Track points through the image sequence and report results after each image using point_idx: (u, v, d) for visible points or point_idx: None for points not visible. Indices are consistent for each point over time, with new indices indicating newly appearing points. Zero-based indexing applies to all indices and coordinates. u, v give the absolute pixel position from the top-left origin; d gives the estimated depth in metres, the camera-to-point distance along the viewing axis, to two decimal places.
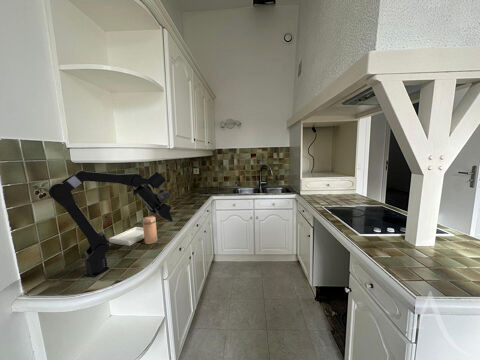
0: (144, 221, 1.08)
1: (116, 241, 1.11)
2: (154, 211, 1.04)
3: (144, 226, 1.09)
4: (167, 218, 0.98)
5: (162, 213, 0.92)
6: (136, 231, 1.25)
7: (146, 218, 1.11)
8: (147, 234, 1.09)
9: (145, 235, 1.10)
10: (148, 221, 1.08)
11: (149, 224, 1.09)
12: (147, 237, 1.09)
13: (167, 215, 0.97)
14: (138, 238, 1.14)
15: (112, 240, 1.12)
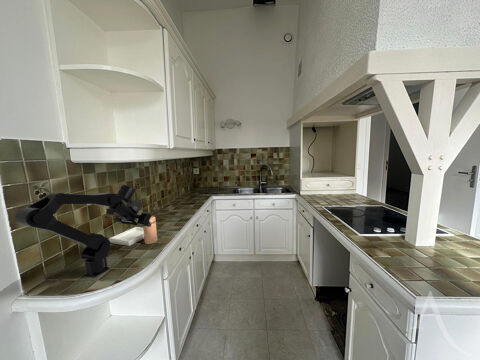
0: None
1: (116, 241, 1.11)
2: (127, 222, 1.04)
3: (144, 226, 1.09)
4: (147, 225, 1.03)
5: (146, 222, 0.97)
6: (136, 231, 1.25)
7: None
8: (147, 234, 1.09)
9: (145, 235, 1.10)
10: None
11: None
12: (147, 237, 1.09)
13: None
14: (138, 238, 1.14)
15: (112, 240, 1.12)
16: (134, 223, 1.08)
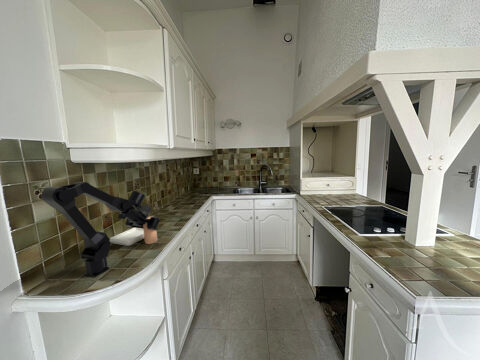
0: None
1: (116, 241, 1.11)
2: (138, 226, 1.09)
3: (144, 226, 1.09)
4: None
5: (155, 226, 1.03)
6: (136, 231, 1.25)
7: (146, 218, 1.11)
8: (148, 234, 1.09)
9: (145, 235, 1.10)
10: None
11: None
12: (147, 237, 1.09)
13: None
14: (138, 238, 1.14)
15: (112, 240, 1.12)
16: None
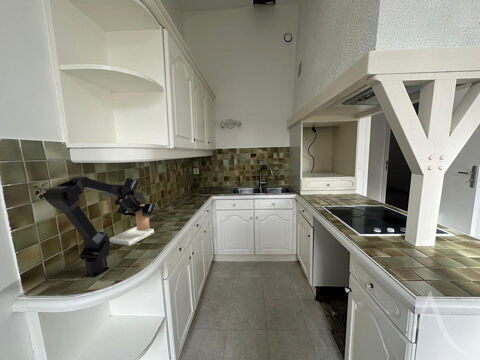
0: None
1: (116, 241, 1.11)
2: (130, 214, 1.11)
3: (137, 213, 1.11)
4: (147, 215, 1.12)
5: (150, 212, 1.07)
6: (136, 231, 1.25)
7: None
8: (141, 221, 1.12)
9: (138, 222, 1.12)
10: None
11: None
12: (141, 224, 1.12)
13: None
14: (138, 238, 1.14)
15: (112, 240, 1.12)
16: None
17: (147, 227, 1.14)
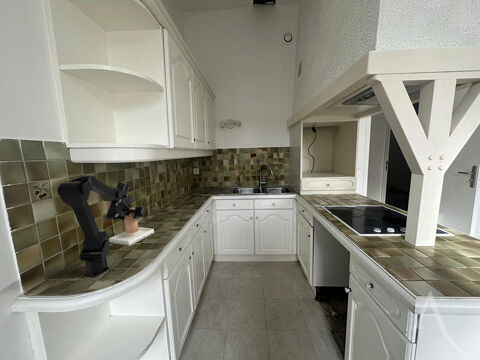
0: None
1: (116, 241, 1.11)
2: (120, 218, 1.13)
3: (127, 217, 1.14)
4: (137, 218, 1.16)
5: (143, 214, 1.12)
6: None
7: None
8: (131, 224, 1.15)
9: (128, 225, 1.14)
10: None
11: (132, 214, 1.15)
12: (131, 227, 1.15)
13: None
14: (138, 238, 1.14)
15: (112, 240, 1.12)
16: None
17: (137, 229, 1.17)
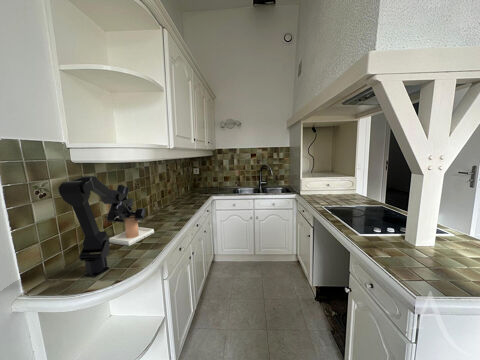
0: None
1: (116, 241, 1.11)
2: (118, 220, 1.13)
3: (127, 221, 1.14)
4: (140, 220, 1.16)
5: (143, 216, 1.12)
6: None
7: None
8: (131, 229, 1.15)
9: (128, 230, 1.15)
10: (132, 216, 1.15)
11: (133, 219, 1.15)
12: (131, 232, 1.15)
13: None
14: (138, 238, 1.14)
15: (112, 240, 1.12)
16: (123, 221, 1.17)
17: (137, 234, 1.18)
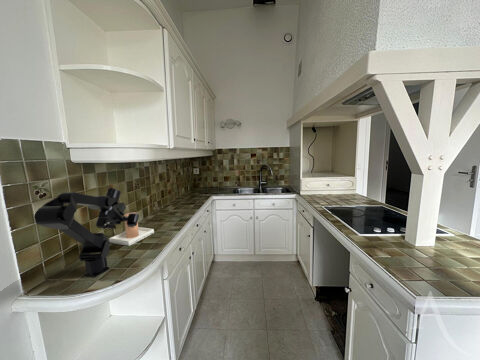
0: None
1: (116, 241, 1.11)
2: (108, 226, 1.04)
3: None
4: (133, 226, 1.07)
5: (136, 222, 1.03)
6: None
7: (128, 214, 1.16)
8: (131, 229, 1.15)
9: (128, 230, 1.15)
10: None
11: None
12: (131, 232, 1.15)
13: None
14: (138, 238, 1.14)
15: (112, 240, 1.12)
16: (114, 227, 1.08)
17: (137, 234, 1.18)
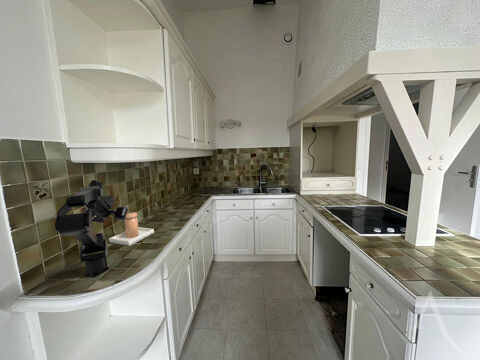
0: (128, 216, 1.14)
1: (116, 241, 1.11)
2: (96, 220, 1.00)
3: (127, 221, 1.14)
4: (122, 220, 1.03)
5: (124, 216, 0.99)
6: None
7: (128, 214, 1.16)
8: (131, 228, 1.15)
9: (128, 230, 1.15)
10: (132, 216, 1.15)
11: (133, 218, 1.15)
12: (131, 232, 1.15)
13: None
14: (138, 238, 1.14)
15: (112, 240, 1.12)
16: (102, 221, 1.04)
17: (137, 234, 1.18)
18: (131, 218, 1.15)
